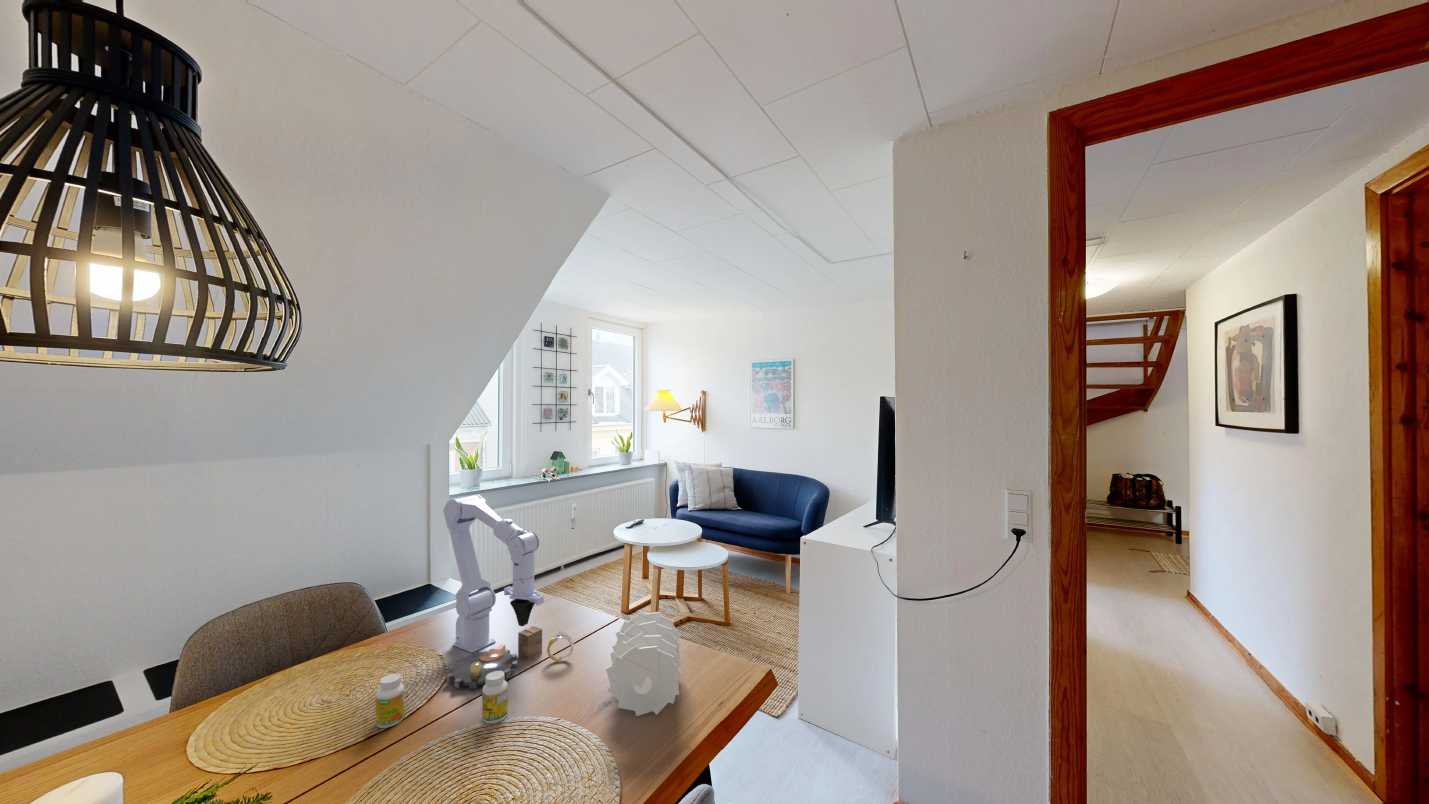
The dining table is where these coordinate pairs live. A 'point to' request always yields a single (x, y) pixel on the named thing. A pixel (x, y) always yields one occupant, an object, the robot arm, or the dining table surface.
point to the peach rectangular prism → (501, 647)
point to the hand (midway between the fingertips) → (523, 624)
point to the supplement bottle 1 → (390, 701)
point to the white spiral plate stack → (645, 664)
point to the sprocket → (481, 667)
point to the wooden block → (529, 643)
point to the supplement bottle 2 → (494, 697)
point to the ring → (552, 640)
